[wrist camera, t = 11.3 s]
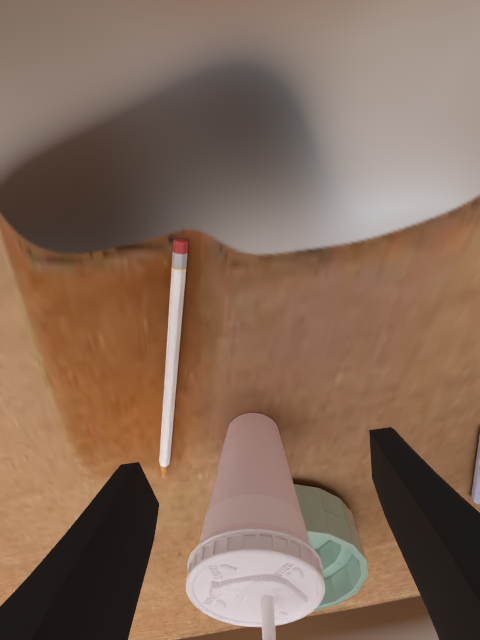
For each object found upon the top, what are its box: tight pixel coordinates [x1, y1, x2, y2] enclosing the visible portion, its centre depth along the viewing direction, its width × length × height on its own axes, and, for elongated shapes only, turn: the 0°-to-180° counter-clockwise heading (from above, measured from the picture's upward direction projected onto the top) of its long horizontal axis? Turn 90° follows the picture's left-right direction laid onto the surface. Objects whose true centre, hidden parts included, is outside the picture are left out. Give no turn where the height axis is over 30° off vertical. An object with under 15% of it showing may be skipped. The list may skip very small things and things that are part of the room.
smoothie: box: [186, 413, 325, 640], centre depth 17 cm, size 6×6×14 cm
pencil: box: [159, 239, 188, 478], centre depth 21 cm, size 1×19×1 cm, turn 170°
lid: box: [294, 484, 368, 611], centre depth 26 cm, size 11×11×4 cm
